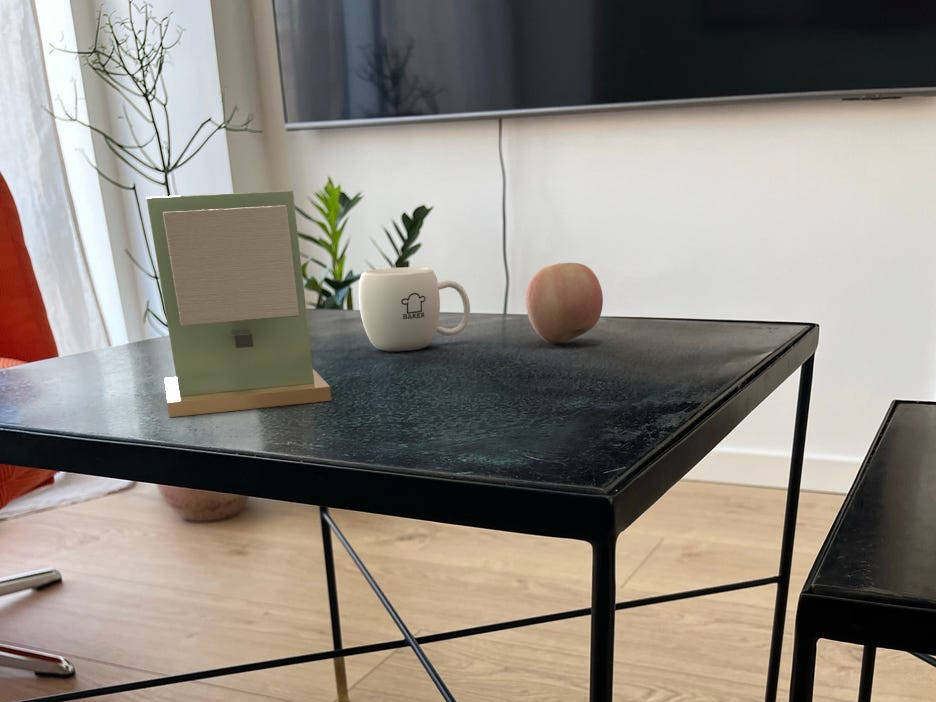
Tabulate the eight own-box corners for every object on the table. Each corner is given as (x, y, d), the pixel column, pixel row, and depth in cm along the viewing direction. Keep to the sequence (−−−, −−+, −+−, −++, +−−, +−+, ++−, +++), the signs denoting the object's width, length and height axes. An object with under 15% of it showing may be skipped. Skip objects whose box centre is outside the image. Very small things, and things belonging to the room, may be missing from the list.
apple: (611, 338, 108) (612, 258, 105) (587, 350, 102) (587, 265, 98) (542, 337, 111) (540, 259, 108) (514, 348, 105) (512, 266, 101)
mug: (373, 357, 104) (366, 276, 100) (355, 346, 111) (348, 270, 108) (484, 346, 107) (480, 267, 104) (459, 336, 114) (455, 262, 111)
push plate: (299, 316, 80) (286, 205, 76) (181, 325, 77) (162, 212, 74) (297, 314, 81) (284, 205, 77) (180, 323, 78) (162, 211, 75)
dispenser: (333, 403, 83) (311, 189, 76) (170, 420, 80) (131, 198, 73) (311, 377, 94) (289, 190, 88) (167, 391, 91) (133, 198, 85)
